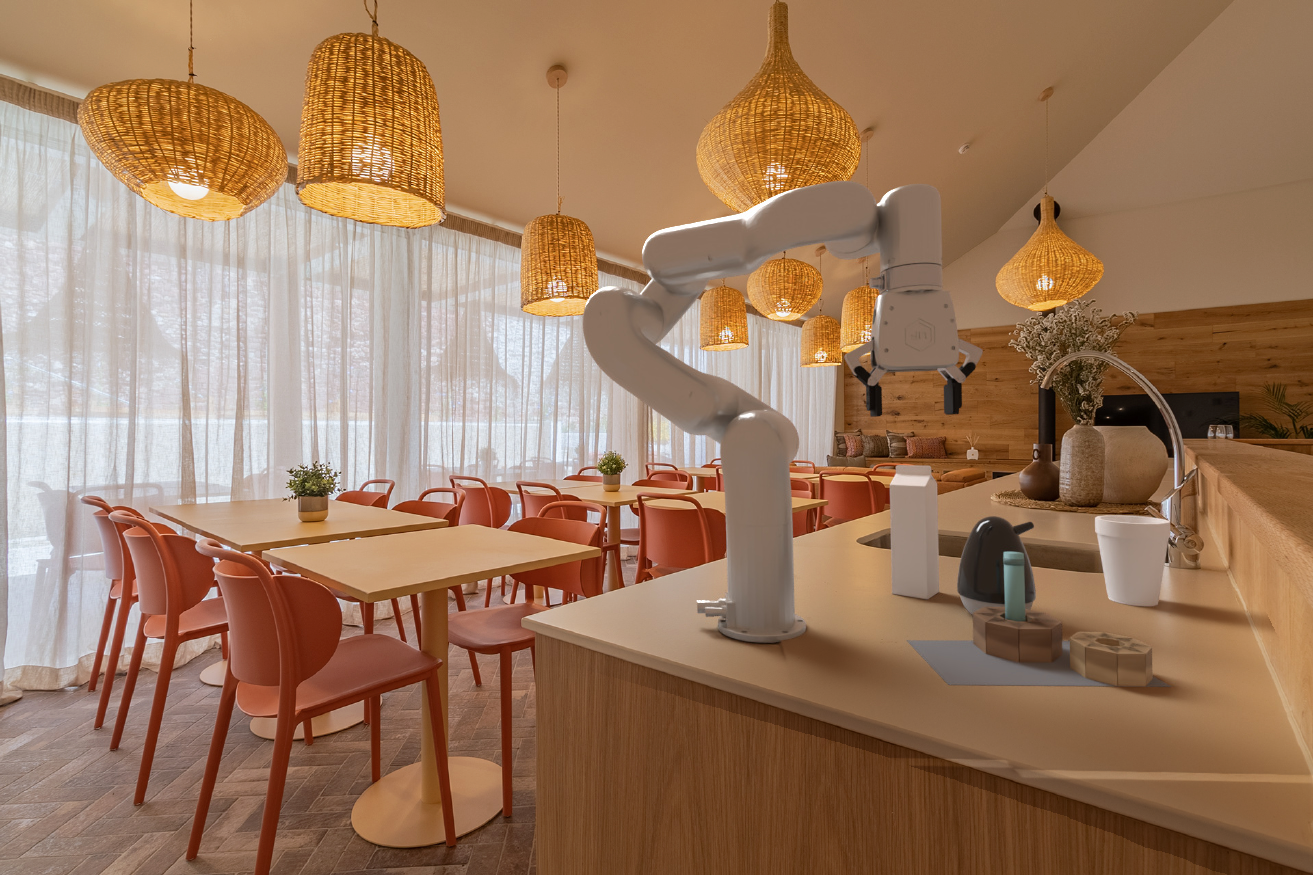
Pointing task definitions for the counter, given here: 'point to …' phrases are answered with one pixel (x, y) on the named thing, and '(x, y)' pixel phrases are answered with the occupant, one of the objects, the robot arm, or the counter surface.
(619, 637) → the counter surface
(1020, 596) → the teal rounded rod
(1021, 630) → the bead
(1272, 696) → the counter surface
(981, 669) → the mat
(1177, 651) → the counter surface
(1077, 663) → the oak bead
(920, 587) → the milk
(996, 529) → the pump dispenser
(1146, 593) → the foam cup
